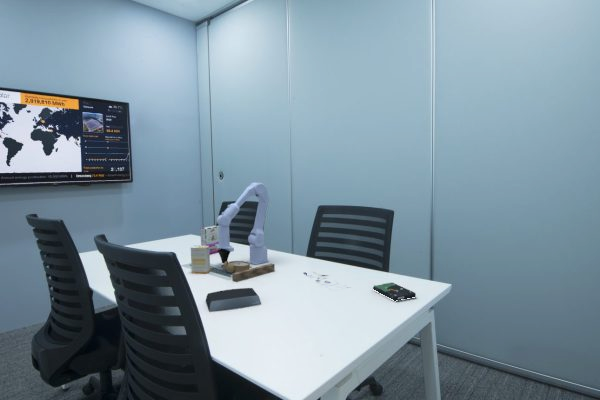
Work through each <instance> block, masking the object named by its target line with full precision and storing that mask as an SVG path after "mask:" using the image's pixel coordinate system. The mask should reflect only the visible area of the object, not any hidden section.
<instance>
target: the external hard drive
mask: <svg viewBox="0 0 600 400" xmlns="http://www.w3.org/2000/svg"><path fill="white" fill-rule="evenodd" d="M205 303H206V306H207V309H208V311H209V313H212V312H213V313H214V312H223V311H231V310H237V309H243V308H249V307H255V306H256V307H257V306H261V305H262V302H261V298H260V296H259V295H258V294H257V292H256V291H255V290H254V288H252V287H243V288H232V289H224V290H219V291H213V292H209V293H207V294H206V297H205Z"/></svg>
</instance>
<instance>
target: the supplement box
mask: <svg viewBox="0 0 600 400" xmlns="http://www.w3.org/2000/svg"><path fill="white" fill-rule="evenodd" d="M210 255H211V254H210V252H209V246H201V245H193V246H191V247H190V265H191V266H190V267H191V273H192V274H208V273H210V272H211V257H210Z"/></svg>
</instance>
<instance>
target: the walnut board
mask: <svg viewBox="0 0 600 400" xmlns="http://www.w3.org/2000/svg"><path fill="white" fill-rule="evenodd" d="M275 268H276V267H275V264H274V263H268V264H264V265H259V266H255V267H252V268H249V269H248V270H244V271H240V272H233V273H231V274H232V275H231V277H232V282H234V283H235V282H236V283H237V282H241V281H244V280H248V279H251V278H255V277H258V276H262V275H266V274H270V273H272V272H276V271H275Z"/></svg>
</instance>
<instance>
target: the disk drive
mask: <svg viewBox="0 0 600 400" xmlns="http://www.w3.org/2000/svg"><path fill="white" fill-rule="evenodd" d="M373 289H374V290H376V291H378V292H379V293H381V294H383V295H385V296H387V297H389V298H391V299H393V300H394V301H396V300H401V299H407V298H412V297H415V298H416V292H415V291H412V290H410V289H407V288H406V287H403V286H401V285H398V284H396V283H394V282H386V283H382V284H378V285H373V287H372V290H373ZM379 293H378V294H379ZM394 301H393V302H394Z"/></svg>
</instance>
